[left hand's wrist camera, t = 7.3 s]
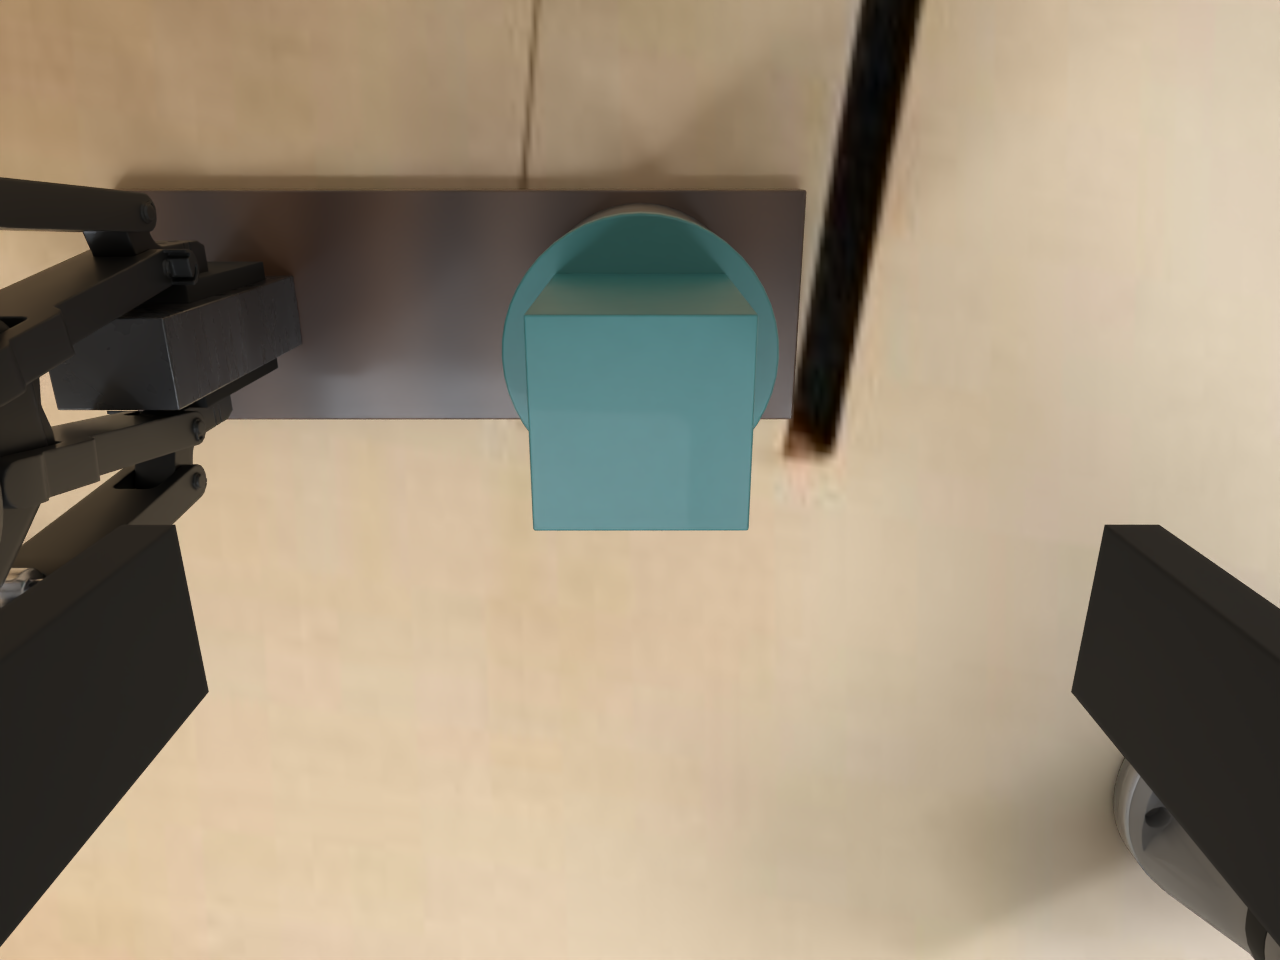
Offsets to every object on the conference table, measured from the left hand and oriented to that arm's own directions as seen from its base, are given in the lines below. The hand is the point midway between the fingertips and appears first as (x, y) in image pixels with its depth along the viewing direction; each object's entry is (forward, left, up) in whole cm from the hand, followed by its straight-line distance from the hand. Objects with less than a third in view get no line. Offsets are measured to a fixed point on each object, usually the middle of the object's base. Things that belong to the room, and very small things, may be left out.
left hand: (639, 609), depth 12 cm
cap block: (0, 0, -18) cm, 18 cm away
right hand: (+12, +12, -26) cm, 31 cm away
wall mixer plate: (+6, +6, -29) cm, 30 cm away
